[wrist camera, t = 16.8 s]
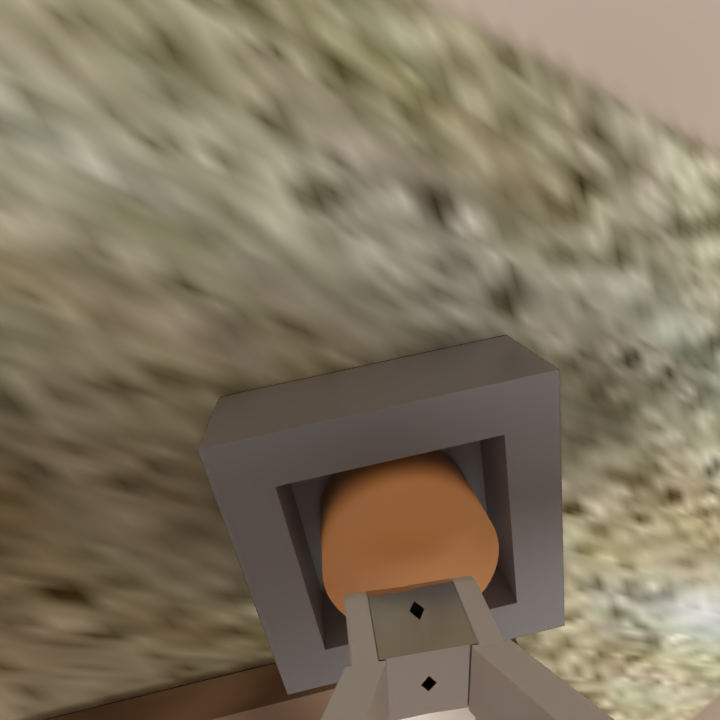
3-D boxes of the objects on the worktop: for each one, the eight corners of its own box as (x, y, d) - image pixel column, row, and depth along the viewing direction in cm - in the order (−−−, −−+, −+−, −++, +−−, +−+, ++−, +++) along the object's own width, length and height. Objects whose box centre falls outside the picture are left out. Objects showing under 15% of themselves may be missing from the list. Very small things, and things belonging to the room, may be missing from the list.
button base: (290, 610, 16) (287, 694, 14) (220, 397, 13) (197, 449, 10) (521, 554, 17) (564, 625, 14) (506, 335, 14) (558, 369, 11)
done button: (336, 580, 15) (342, 648, 12) (304, 460, 13) (303, 514, 11) (474, 547, 15) (504, 608, 13) (460, 425, 13) (492, 470, 11)
